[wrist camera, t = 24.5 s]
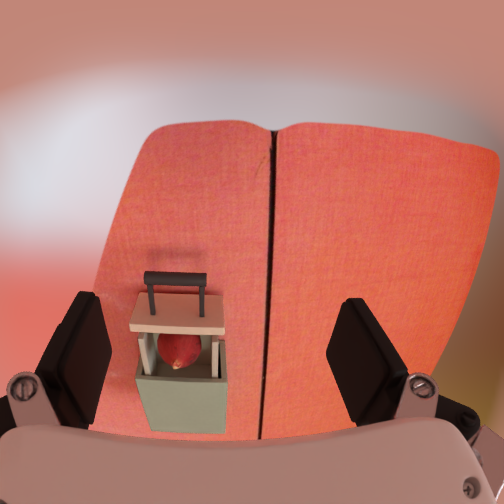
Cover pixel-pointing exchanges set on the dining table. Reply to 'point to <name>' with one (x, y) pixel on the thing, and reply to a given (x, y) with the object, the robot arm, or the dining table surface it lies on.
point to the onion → (179, 349)
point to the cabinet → (185, 400)
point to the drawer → (178, 323)
